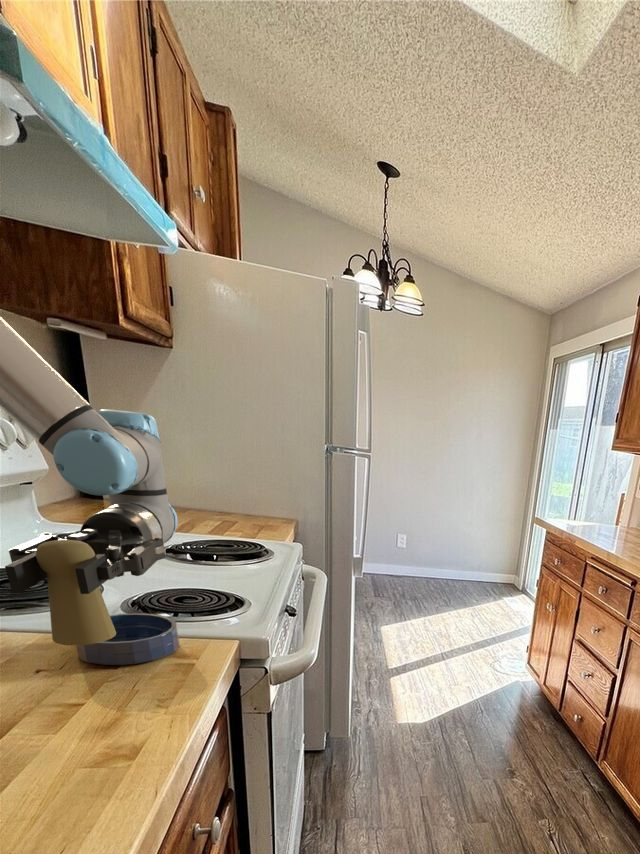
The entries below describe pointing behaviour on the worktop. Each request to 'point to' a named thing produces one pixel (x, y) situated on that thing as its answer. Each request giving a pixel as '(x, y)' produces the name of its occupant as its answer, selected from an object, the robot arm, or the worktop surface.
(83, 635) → the cork
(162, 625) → the bowl
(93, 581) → the robot arm
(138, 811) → the worktop surface
